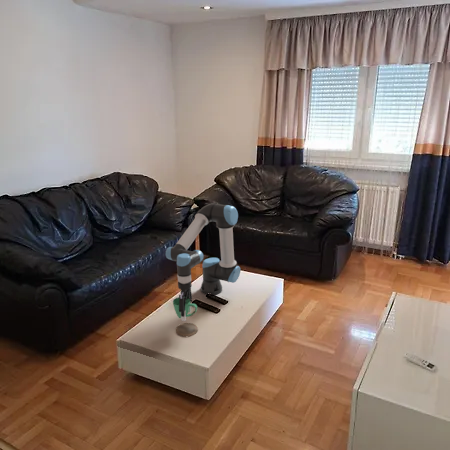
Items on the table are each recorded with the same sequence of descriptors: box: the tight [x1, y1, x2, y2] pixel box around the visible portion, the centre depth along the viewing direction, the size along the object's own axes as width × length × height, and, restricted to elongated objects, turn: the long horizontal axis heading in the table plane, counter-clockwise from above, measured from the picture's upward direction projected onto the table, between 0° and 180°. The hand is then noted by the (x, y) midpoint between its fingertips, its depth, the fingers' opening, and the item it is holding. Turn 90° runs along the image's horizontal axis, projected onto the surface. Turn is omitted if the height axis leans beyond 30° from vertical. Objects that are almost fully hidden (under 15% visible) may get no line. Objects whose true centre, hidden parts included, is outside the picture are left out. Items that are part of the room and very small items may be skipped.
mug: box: [172, 296, 198, 319], centre depth 227 cm, size 15×10×10 cm
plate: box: [175, 322, 199, 338], centre depth 232 cm, size 13×13×1 cm
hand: (186, 316), depth 229 cm, fingers closed on mug, 9 cm apart
